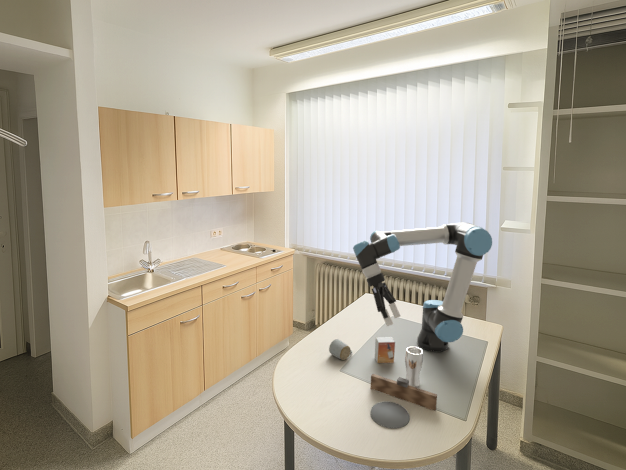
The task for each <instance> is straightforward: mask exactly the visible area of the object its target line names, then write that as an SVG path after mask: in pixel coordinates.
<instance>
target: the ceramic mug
mask: <svg viewBox="0 0 626 470" xmlns="http://www.w3.org/2000/svg"><path fill="white" fill-rule="evenodd" d="M328 351H329V354H331V355H332V356H334V357H335V358H337V359H340V360H342V361H345V360H347V359H348V358H349V357H350V356H351V355H353V350H351V347H350V346H349V345H348V344H346V343H345V342H343V341H342V340H340V339H339V338H337V339H333V340H332V341H331V343H330V345H329V347H328Z"/></svg>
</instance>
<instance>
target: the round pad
mask: <svg viewBox="0 0 626 470" xmlns="http://www.w3.org/2000/svg"><path fill="white" fill-rule="evenodd" d="M370 417H371V418H372V421H374V422H375V423H376V424H378V425H379V426H381V427H384V428H388V429H400V428H403V427H405V426H406V425H408V423H409V422H410V413H409V411H408V410H407V408H406V407H404V406H403V405H401V404H399V403H396V402H394V401H388V400H387V401H379V402H376V403H375V404H373V405H372V407H371V408H370Z"/></svg>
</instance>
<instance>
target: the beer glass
mask: <svg viewBox="0 0 626 470" xmlns="http://www.w3.org/2000/svg"><path fill="white" fill-rule="evenodd" d="M423 354H424V352H423V348H421V347H420V348H419V347H418V346H408V347H407V348H406V351H405V358H404V360H405V361H404V362H405V370H406V371H405V373H406V375H405V379H407V380H409V386H412V387H416V388H419V387H420V384H421V380H420V376H421V371H422V367H423V361H424V357H423V356H424V355H423Z"/></svg>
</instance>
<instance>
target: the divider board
mask: <svg viewBox="0 0 626 470" xmlns="http://www.w3.org/2000/svg"><path fill="white" fill-rule="evenodd" d="M370 389H371V390H373V391H376V392H379V393H381V394H384V395H388V396H390V397H393V398H396V399H399V400H402V401H404V402H405V401H406V402H408V403H410V404H413V405H416V406H420V407H421V408H426V409H428V410H430V411H433V412H436V409H437V404H438V403H437V401H438V394H436V393H434V392H430V391H427V390H425V389H421V388H419V387H412V386H409V380H407V379H406V378H404V377H400V376H399V377H398V378H397V379H396V380H393V379H391V378H388V377H383V376H381V375H379V374H374V373H372V374H371V375H370Z"/></svg>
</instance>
